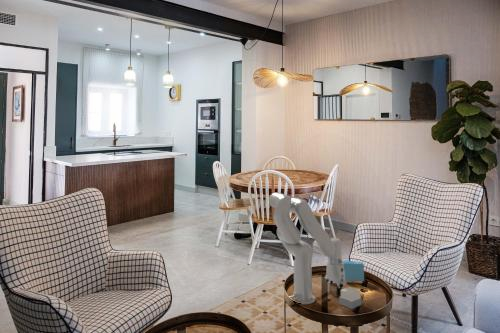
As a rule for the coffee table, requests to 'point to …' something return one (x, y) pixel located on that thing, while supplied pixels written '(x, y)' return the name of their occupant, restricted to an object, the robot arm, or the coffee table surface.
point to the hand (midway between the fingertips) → (335, 292)
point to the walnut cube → (333, 289)
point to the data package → (353, 271)
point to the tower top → (350, 294)
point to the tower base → (350, 303)
